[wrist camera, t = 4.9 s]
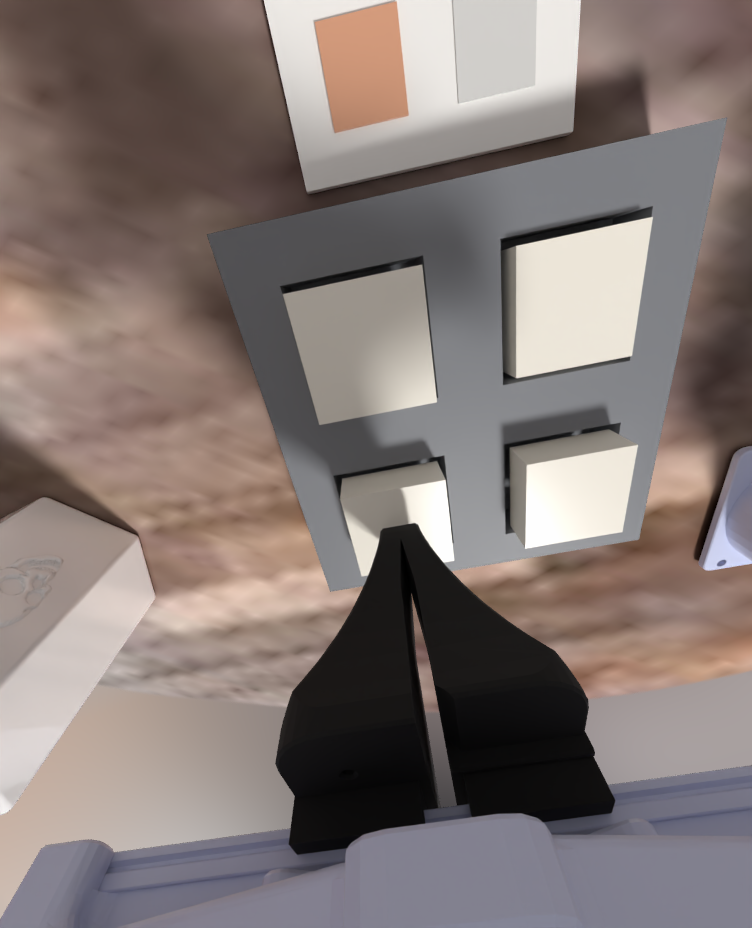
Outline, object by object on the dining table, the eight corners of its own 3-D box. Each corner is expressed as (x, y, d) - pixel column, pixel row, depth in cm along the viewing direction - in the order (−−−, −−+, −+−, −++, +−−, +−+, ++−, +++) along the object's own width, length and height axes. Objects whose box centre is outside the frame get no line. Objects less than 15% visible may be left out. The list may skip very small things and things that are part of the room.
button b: (608, 429, 14) (637, 444, 12) (598, 510, 15) (622, 532, 14) (509, 447, 14) (526, 465, 12) (510, 525, 16) (525, 548, 14)
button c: (414, 269, 11) (422, 264, 9) (428, 390, 13) (437, 402, 11) (292, 294, 11) (282, 294, 10) (324, 410, 13) (319, 425, 11)
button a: (616, 226, 11) (652, 216, 10) (602, 349, 13) (631, 355, 12) (496, 252, 11) (516, 246, 10) (499, 369, 13) (515, 378, 12)
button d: (437, 461, 14) (445, 479, 12) (445, 536, 16) (454, 560, 14) (342, 478, 14) (340, 499, 13) (361, 551, 16) (361, 576, 14)
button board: (653, 153, 12) (726, 117, 9) (603, 508, 18) (638, 539, 16) (235, 246, 12) (206, 234, 10) (334, 555, 19) (330, 591, 17)
